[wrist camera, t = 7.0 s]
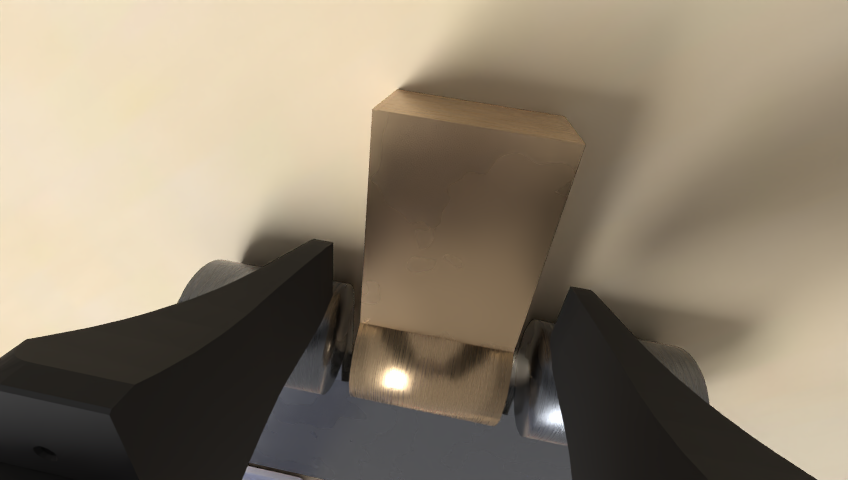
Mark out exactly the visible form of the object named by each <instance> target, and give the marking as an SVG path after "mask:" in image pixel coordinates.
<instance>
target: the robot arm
mask: <svg viewBox="0 0 848 480" xmlns="http://www.w3.org/2000/svg"><path fill="white" fill-rule="evenodd" d="M332 296H333V243H332V242H327V241H321V240H316V239H313V240H311V241H309V242H307V243H305V244H303V245H301V246H300V247H298V248H296V249H294V250H293V251H291V252H289V253H287V254H286V255H284V256H282V257H280V258H278V259H277V260H275V261H273V262H271V263H269V264H267V265H266V266H264V267H262V268H260V269H258V270H256V271H254V272H252V273H250V274H248V275H246V276H244V277H242V278H240V279H238V280H236V281H233V282H231V283H229V284H227V285H225V286H222V287H220V288H218V289H215V290H213V291H210V292H208V293H205V294H203V295H200V296H198V297H195V298H192V299H190V300H187V301H184V302H181V303H177V304H174V305H171V306H168V307H165V308H162V309H159V310H156V311H153V312H149V313H146V314H142V315H139V316H135V317H131V318H128V319H124V320H120V321H116V322H111V323H107V324H103V325H99V326H94V327H90V328H85V329H80V330H75V331H69V332H64V333H59V334H54V335H48V336H43V337H37V338H31V339H26V340H25V341H23V342H22V343H21V344H19V345H18V346H16V347H15V348H13V349H12V350H11V351H9V352H8V353H6V354H5V355H4V356H2V357H1V358H0V480H302V479H301V478H299V477H296V476H291V475H287V474H282V473H278V472H273V471H269V470H264V469H260V468H255V467H251V466H248V464H249V462H250V459H251V457H252V455H253V453H254V450H255V448H256V446H257V443H258V441H259V439H260V436H261V434H262V432H263V430H264V427H265V425H266V423H267V421H268V419H269V416H270V414H271V412H272V410H273V408H274V406H275V403H276V401H277V399H278V397H279V395H280V393H281V391H282V389H283V387H284V386H285V384H286V382H287V380H288V378H289V377H290V375H291V373H292V372H293V370H294V368H295V367H296V365H297V363H298V362H299V360H300V358H301V356H302V355H303V353H304V351H305V350H306V348H307V346H308V345H309V343H310V341H311V340H312V338H313V336H314V334H315V333H316V331H317V329H318V327H319V326H320V324H321V322H322V320H323V317H324V315H325V313H326V311H327V308H328V306H329V303H330V301H331V298H332ZM550 346H551V361H552V371H553V376H554V381H555V386H556V391H557V396H558V400H559V405H560V410H561V415H562V420H563V424H564V429H565V434H566V439H567V444H568V450H569V456H570V465H571V475H572V480H817V479H816V478H814V477H812V476H811V475H809V474H808V473H806V472H804V471H803V470H801V469H800V468H798V467H797V466H795V465H794V464H792V463H791V462H789V461H788V460H786V459H785V458H783V457H781V456H780V455H778V454H777V453H775V452H774V451H772V450H771V449H769V448H768V447H767V446H765V445H764V444H762V443H761V442H759V441H758V440H756V439H755V438H753V437H752V436H751V435H749V434H748V433H746V432H745V431H744V430H742V429H741V428H740V427H738V426H737V425H736V424H734V423H733V422H732V421H730V420H729V419H727V418H726V417H725V416H723V415H722V414H721V413H719V412H718V411H717V410H716V409H714V408H713V407H712V406H710V405H709V404H708V403H707V402H705V401H704V400H703V399H702V398H701V397H699V396H698V395H697V394H696V393H695V392H693V391H692V390H691V389H690V388H689V387H688V386H686V385H685V384H684V383H683V382H682V381H680V380H679V379H678V378H677V377H676V376H675V375H674V374H673V373H671V372H670V371H669V370H668V369H667V368H666V367H665V366H664V365H663V364H662V363H661V362H660V361H659V360H658V359H657V358H656V357H655V356H654V355H653V354H651V353H650V352H649V351H648V350H647V349H646V348H645V347H644V346H643V345H642V343H641V342H640V341H639V340H638V339H637V338H636V337H635V336H634V335H633V334H632V333H631V332H630V331H629V330H628V329H627V328H626V327H625V326H624V325H623V323H622V322H621V321H620V320H619V319H618V318H617V317H616V316H615V315H614V314H613V313H612V311H611V310H610V309H609V308H608V307H607V306H606V305H605V304H604V303H603V302H602V301H601V300H600V299H599V297H598V296H597V295H596V294H595V293H593V292H592V291H591V290H586V289H581V288H576V287H570V289H569V291H568V294H567V296H566V299H565V301H564V304H563V306H562V309H561V311H560V314H559V316H558V319H557V321H556V324H555V326H554V329H553V331H552V334H551V336H550Z"/></svg>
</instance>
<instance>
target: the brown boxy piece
mask: <svg viewBox="0 0 848 480" xmlns="http://www.w3.org/2000/svg"><path fill="white" fill-rule="evenodd" d="M585 145H586V144H585V143H584V142H583V140H582V139H581V138H580V136H579V135H578V134H577V132H576V131H575V130H574V128H573V127H572V126H571V124H570V123H569V122H568V121H567V119H566V118H565V117H564V116H559V115H553V114H547V113H541V112H534V111H528V110H522V109H516V108H510V107H504V106H497V105H491V104H485V103H479V102H473V101H466V100H460V99H454V98H448V97H442V96H436V95H429V94H423V93H417V92H411V91H405V90H398V89H397V90H396V91H395V92H393V93H392V94H391V95H390V96H388V97H387V98H386V99H385V100H383V101H382V102H381V103H380V104H378V105H377V106H376V107H374V108H373V109H372V125H371V142H370V159H369V177H368V194H367V211H366V229H365V246H364V263H363V281H362V298H361V315H360V325H359V328H358V332H357V337H356V341H355V345H354V350H353V356H352V361H351V368H350V377H349V393H350V396H352V397H357V398H361V399H366V400H371V401H376V402H380V403H385V404H390V405H395V406H399V407H404V408H409V409H413V410H418V411H423V412H428V413H432V414H437V415H442V416H447V417H451V418H456V419H461V420H465V421H470V422H475V423H480V424H484V425H489V426H496V425H497V424H498V422H499V421H500V418H501V416H502V413H503V410H504V407H505V403H506V399H507V395H508V390H509V385H510V379H511V372H512V364H513V353H514V350H515V347H516V344H517V342H518V339H519V336H520V333H521V330H522V327H523V324H524V321H525V318H526V316H527V313H528V310H529V307H530V304H531V301H532V298H533V295H534V292H535V290H536V287H537V284H538V281H539V278H540V275H541V272H542V269H543V266H544V264H545V261H546V258H547V255H548V252H549V249H550V246H551V243H552V240H553V238H554V235H555V232H556V229H557V226H558V223H559V220H560V217H561V214H562V212H563V209H564V206H565V203H566V200H567V197H568V194H569V191H570V188H571V186H572V183H573V180H574V177H575V174H576V171H577V168H578V165H579V162H580V160H581V157H582V154H583V151H584V148H585Z"/></svg>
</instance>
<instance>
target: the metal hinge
mask: <svg viewBox="0 0 848 480" xmlns="http://www.w3.org/2000/svg"><path fill="white" fill-rule="evenodd" d="M260 268H262V267H258V266H253V265H247V264H242V263H237V262H232V261H226V260H215V261H212V262H210V263H208V264H206V265H205V266H204V267H202V268H201V269H200V270H199V271H198V272H197V273H196V274H195V275H194V276H193V277H192V279H191V280H190V281H189V283H188V284H187V286H186V288H185V289H184V291H183V293H182V295H181V297H180V299H179V301H178V303H181V302H184V301H187V300H190V299H192V298H195V297H198V296H200V295H203V294H205V293H208V292H210V291H213V290H215V289H218V288H220V287H222V286H225V285H227V284H229V283H231V282H233V281H236V280H238V279H240V278H242V277H244V276H246V275H248V274H250V273H252V272H254V271H256V270H258V269H260ZM353 322H354V290H353V287H352V285H351V284H347V283H342V282H336V281H333V296H332V298H331V301H330V303H329V306H328V308H327V311H326V313H325V315H324V317H323V320H322V322H321V324H320V326H319V327H318V329H317V331H316V333H315V334H314V336H313V338H312V340H311V341H310V343H309V345H308V346H307V348H306V350H305V351H304V353H303V355H302V356H301V358H300V360H299V362H298V363H297V365H296V367H295V368H294V370H293V372H292V373H291V375H290V377H289V378H288V380H287V382H286V384H285V386H284V387H283V389H282V391H281V393H280V395H279V397H278V399H277V401H276V403H275V406H274V408H273V410H272V412H271V414H270V416H269V419H268V421H267V423H266V425H265V427H264V430H263V432H262V434H261V436H260V439H259V441H258V443H257V446H256V448H255V450H254V453H253V455H252V457H251V459H250V462H249V463H253V464H257V465H262V466H266V467H271V468H275V469H280V470H284V471H288V472H293V473H297V474H302V475H306V476H311V477H315V478H320V479H324V480H572V475H571V465H570V456H569V450H568V444H567V439H566V434H565V429H564V424H563V420H562V415H561V410H560V405H559V400H558V396H557V391H556V386H555V381H554V376H553V371H552V361H551V346H550V336H551V334H552V331H553V329H554V326H555V324H556V323H551V322H546V321H540V320H532V321H531V322H530V323H529V325H528V326H527V328H526V331H525V333H524V336H523V338H522V341H521V344H520V347H519V350H518V353H517V356H516V358H515V361H514V364H513V367H512V372H511V379H510V385H509V390H508V395H507V399H506V403H505V407H504V410H503V413H502V416H501V418H500V421H499V422H498V424H497V425H496V426H489V425H484V424H480V423H475V422H470V421H465V420H461V419H456V418H451V417H447V416H442V415H437V414H432V413H428V412H423V411H418V410H413V409H409V408H404V407H399V406H395V405H390V404H385V403H380V402H376V401H371V400H366V399H361V398H357V397H352V396H350V393H349V377H350V368H351V361H352V356H353V354H352V345H353ZM638 340H639V341H640V342H641V343H642V345H643V346H644V347H645V348H646V349H647V350H648V351H649V352H650V353H651V354H653V355H654V356H655V357H656V358H657V359H658V360H659V361H660V362H661V363H662V364H663V365H664V366H665V367H666V368H667V369H668V370H669V371H670V372H671V373H673V374H674V375H675V376H676V377H677V378H678V379H679V380H680V381H682V382H683V383H684V384H685V385H686V386H688V387H689V388H690V389H691V390H692V391H693V392H695V393H696V394H697V395H698V396H699V397H701V398H702V399H703V400H704V401H705V402H707V403H708V404H709V398H708V392H707V387H706V384H705V380H704V378H703V375H702V373H701V370H700V369H699V367H698V365H697V363H696V362H695V360H694V359H693V358H692V357H691V355H690V354H689V353H687V352H686V351H685V350H683V349H681V348H679V347H676V346H671V345H666V344H661V343H656V342H650V341H645V340H640V339H638Z"/></svg>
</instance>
